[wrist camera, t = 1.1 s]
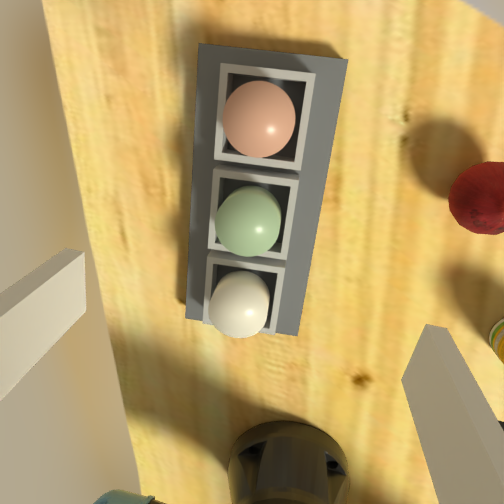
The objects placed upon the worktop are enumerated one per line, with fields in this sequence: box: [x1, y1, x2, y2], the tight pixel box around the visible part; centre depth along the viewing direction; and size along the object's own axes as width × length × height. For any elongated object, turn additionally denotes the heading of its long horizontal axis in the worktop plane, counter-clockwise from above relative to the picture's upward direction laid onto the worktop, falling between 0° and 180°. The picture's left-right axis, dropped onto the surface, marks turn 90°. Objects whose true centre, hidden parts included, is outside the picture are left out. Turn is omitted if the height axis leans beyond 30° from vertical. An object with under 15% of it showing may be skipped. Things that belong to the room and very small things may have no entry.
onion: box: [448, 162, 504, 235], centre depth 31 cm, size 6×6×8 cm
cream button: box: [208, 271, 270, 338], centre depth 35 cm, size 5×5×3 cm
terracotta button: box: [223, 81, 296, 158], centre depth 29 cm, size 5×5×3 cm
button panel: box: [185, 43, 348, 336], centre depth 35 cm, size 26×12×4 cm, turn 174°
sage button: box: [215, 186, 281, 257], centre depth 32 cm, size 5×5×3 cm
